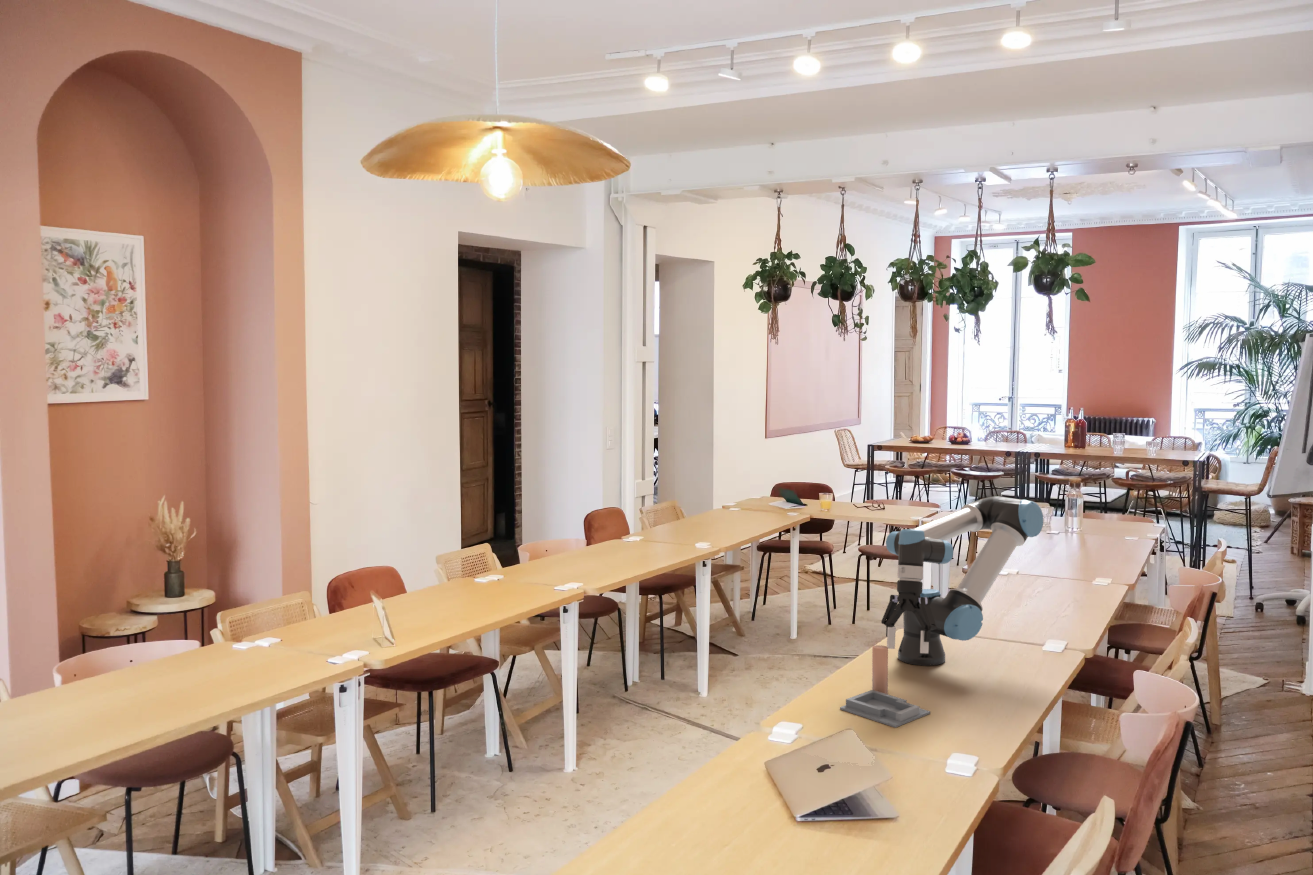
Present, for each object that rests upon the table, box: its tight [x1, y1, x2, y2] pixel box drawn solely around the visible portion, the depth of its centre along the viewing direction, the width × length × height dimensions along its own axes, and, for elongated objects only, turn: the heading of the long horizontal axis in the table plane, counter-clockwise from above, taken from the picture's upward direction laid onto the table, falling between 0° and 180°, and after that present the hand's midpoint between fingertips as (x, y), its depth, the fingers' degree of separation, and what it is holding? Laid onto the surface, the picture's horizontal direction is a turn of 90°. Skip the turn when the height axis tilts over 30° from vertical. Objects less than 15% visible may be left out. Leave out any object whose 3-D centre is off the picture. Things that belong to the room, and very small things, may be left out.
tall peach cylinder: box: [871, 644, 889, 695], centre depth 290 cm, size 4×4×14 cm
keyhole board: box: [839, 689, 931, 728], centre depth 276 cm, size 16×19×3 cm
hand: (907, 650), depth 296 cm, fingers open, 13 cm apart
